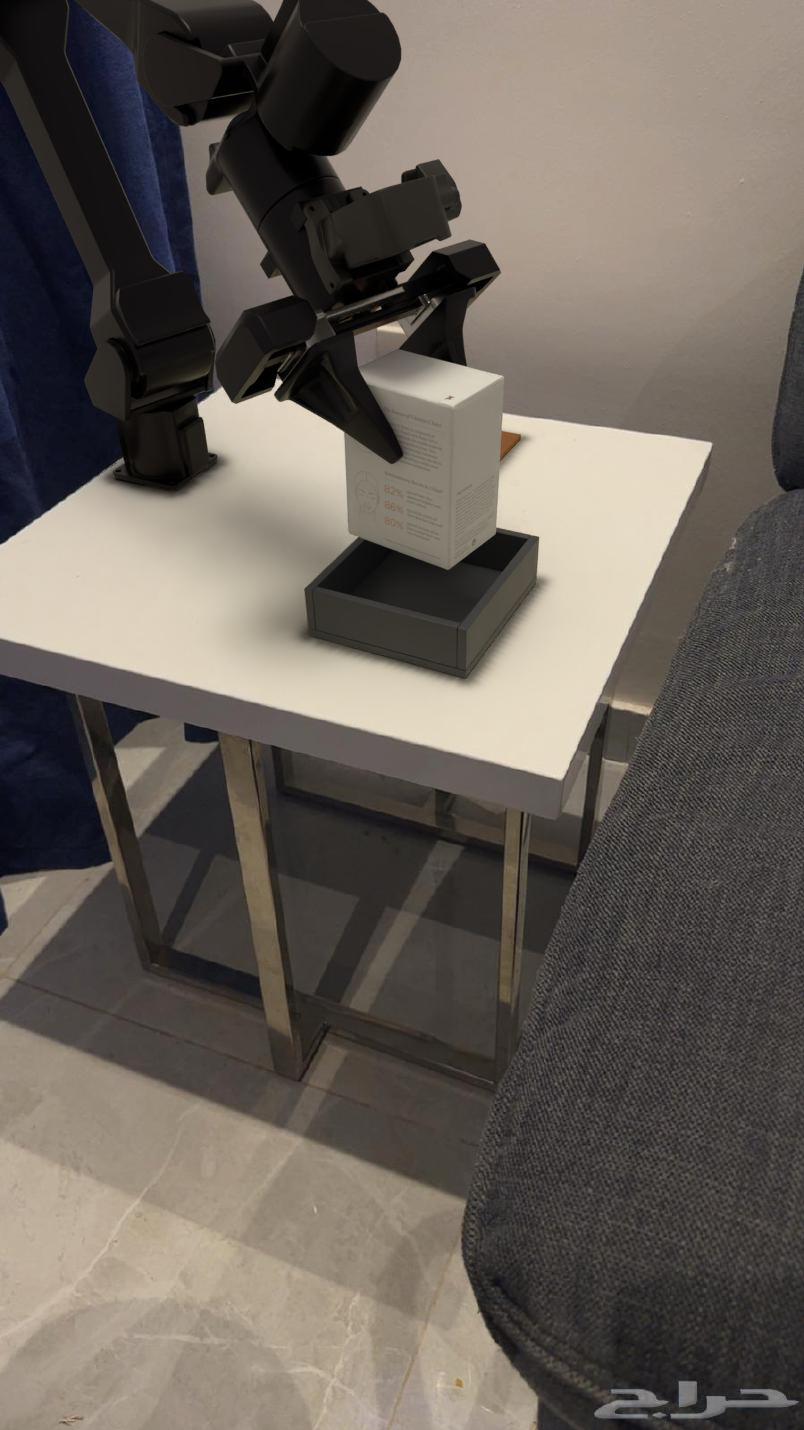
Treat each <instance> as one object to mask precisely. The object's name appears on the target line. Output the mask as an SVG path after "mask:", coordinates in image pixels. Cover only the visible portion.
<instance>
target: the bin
mask: <svg viewBox="0 0 804 1430" xmlns="http://www.w3.org/2000/svg"><path fill="white" fill-rule="evenodd" d="M539 548H540V536H537V535H533V534H529V533H524V532H519V531H515V530H510V529H506V528H501V527H497V526H496V534H495V535H494V536H492V537H491V538H490V539H489V540H487V541H486V542H485V543H483V544H482V545H481V546H479V547H478V548H477V549H475V550H474V551H473V552H471V553H470V554H469V555H468V556H466V557H465V558H464V559H462V560H461V561H460V562H458V563H457V564H456V565H454V566H453V567H452V568H450V569H449V570H447V569H444V568H442V567H439V566H436V565H433V564H431V563H428V562H425V561H422V560H420V559H417V558H414V557H411V556H409V555H406V554H403V553H401V552H398V551H395V550H393V549H390V548H387V547H384V546H382V545H379V544H376V543H374V542H371V541H368V540H365V539H363V538H360V537H356V538H355V539H354V540H353V541H352V542H351V543H350V544H349V545H348V546H347V547H346V548H345V549H344V550H343V551H342V552H341V553H340V554H339V555H338V556H337V557H336V558H335V559H333V561H331V562H330V563H329V564H328V565H327V566H326V567H325V568H324V569H323V570H322V571H321V572H320V573H319V574H318V575H316V577H315V578H314V579H312V581H310V583H308V585H307V586H305V587H304V588H303V590H304V600H305V611H306V621H307V628H308V635H309V636H310V637H314V638H318V639H322V640H325V641H328V642H332V643H336V644H338V645H339V644H340V645H342V646H346V647H351V648H354V649H357V650H361V651H365V652H369V653H372V654H376V655H380V656H382V657H387V658H391V659H394V660H396V661H397V660H398V661H402V662H405V663H409V664H412V665H416V666H420V667H424V668H427V669H431V670H434V671H437V672H441V673H445V674H448V675H452V676H456V677H460V678H464V679H467V677H468V675H469V674H470V673H471V671H472V670H473V669H474V668H475V666H476V665H477V663H478V662H479V661H480V659H481V658H482V657H483V655H484V654H485V652H486V651H487V650H488V648H489V647H490V646H491V645H492V643H493V642H494V641H495V639H496V637H498V635H499V633H500V632H501V631H502V629H503V628H504V627H505V625H506V624H507V623H508V621H509V620H510V619H511V617H512V616H513V614H514V613H515V612H516V610H517V609H518V608H519V606H520V605H521V604H522V602H523V601H524V600H525V598H526V597H527V595H529V593H530V591H531V590H532V589H533V587H534V586H535V585H536V583H537V582H538V581H537V579H538V565H539V551H540V549H539Z"/></svg>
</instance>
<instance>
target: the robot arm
mask: <svg viewBox="0 0 804 1430" xmlns="http://www.w3.org/2000/svg"><path fill="white" fill-rule="evenodd" d="M73 1H74V2H75V3H76V4H77V5H78V6H79V7H80V8H81V9H83V10H84V11H85V12H87V14H88V15H90V16H91V17H92V18H93V19H94V20H96V21H97V22H98V23H99V24H100V25H101V26H103V27H104V28H105V29H106V30H107V31H109V32H110V33H111V34H112V35H113V36H115V37H116V38H117V39H118V40H119V41H121V43H123V44H124V46H125V47H126V48H127V49H128V50H129V52H131V54H132V56H133V57H132V58H133V65H134V73H135V80H136V81H137V82H138V84H139V85H140V86H141V87H142V88H143V90H144V91H145V92H146V93H147V94H148V95H149V97H150V98H151V99H152V100H153V102H154V103H155V104H156V105H157V106H158V107H159V109H160V110H161V111H162V112H163V113H164V115H165V116H166V117H167V118H168V119H169V120H170V121H171V122H172V123H174V124H175V125H178V126H179V127H185V128H189V127H194V126H198V125H203V124H209V123H215V122H219V121H224V120H230V119H231V120H230V121H229V123H228V125H227V126H226V129H225V131H224V133H223V135H222V137H221V139H220V140H219V141H216V142H212V143H209V146H208V154H209V157H208V159H209V160H208V166H207V169H206V172H205V189H206V192H207V193H208V195H210V196H216V195H221V194H226V193H228V192H233V194H234V196H235V197H236V199H237V201H238V202H239V204H240V206H241V208H242V209H243V211H244V213H245V214H246V217H247V218H248V220H249V221H250V223H251V225H252V226H253V228H254V230H255V231H256V233H257V235H258V237H259V239H260V240H261V242H262V244H263V245H264V247H265V249H266V251H267V252H265V255H264V256H263V258H262V260H261V261H260V263H259V266H260V267H261V269H262V271H263V273H264V274H265V276H266V277H267V280H270V279H274V278H277V277H279V276H282V278H283V280H284V281H285V284H286V285H287V286H288V288H289V291H290V292H291V293H292V294H291V295H288V296H285V297H281V298H278V299H275V300H272V301H269V302H266V303H263V304H260V305H256V306H253V307H249V308H246V309H244V310H242V312H241V314H240V315H239V316H238V319H237V320H236V321H235V323H234V325H233V326H232V328H231V330H230V332H229V333H228V335H227V336H226V338H225V340H224V341H223V343H222V344H221V345H220V348H219V349H218V351H216V349H217V345H216V344H217V343H216V342H217V340H216V337H215V334H214V331H213V329H212V326H211V325H210V324H211V323H212V321H211V319H210V317H209V316H208V314H207V313H206V311H205V310H204V308H203V306H202V304H201V301H200V299H199V296H198V294H197V291H196V288H195V285H194V282H193V279H191V277H190V276H189V275H188V274H187V272H186V271H184V270H180V271H175V272H172V273H171V272H170V271H169V270H168V269H167V268H166V267H164V265H162V264H161V263H159V261H157V260H156V259H155V258H154V256H153V254H152V252H151V250H150V247H149V245H148V243H147V241H146V238H145V236H144V233H143V231H142V229H141V227H140V225H139V222H138V220H137V218H136V215H135V213H134V210H133V209H132V208H133V207H132V206H131V203H130V202H129V199H128V196H127V194H126V192H125V190H124V187H123V185H122V183H121V180H120V179H119V176H118V173H117V171H116V169H115V166H114V164H113V162H112V160H111V157H110V155H109V152H108V150H107V147H106V146H105V143H104V141H103V139H102V136H101V133H100V132H99V129H98V127H97V124H96V123H95V120H94V117H93V114H92V113H91V111H90V109H89V106H88V104H87V102H86V100H85V97H84V95H83V92H82V90H81V88H80V85H79V83H78V81H77V78H76V76H75V73H74V71H73V69H72V67H71V64H70V62H69V60H68V57H67V54H66V53H67V52H66V49H67V40H68V39H67V38H68V28H69V18H70V16H69V15H70V5H69V3H68V2H69V1H68V0H0V83H1V85H2V86H3V87H4V89H5V92H6V94H7V96H8V98H9V100H10V103H11V104H12V107H13V109H14V111H15V113H16V115H17V118H18V120H19V122H20V125H21V127H22V129H23V132H25V135H26V138H27V140H28V143H29V145H30V147H31V149H32V151H33V153H34V156H35V158H36V160H37V163H38V165H39V167H40V169H41V172H42V174H43V176H44V178H45V180H46V182H47V185H48V186H49V189H50V192H51V193H52V196H53V198H54V200H55V202H56V204H57V207H58V209H59V211H60V213H61V216H62V218H63V220H64V222H65V224H66V227H67V229H68V230H69V234H70V236H71V238H72V240H73V242H74V245H75V247H76V249H77V252H78V254H79V255H80V259H81V261H82V262H83V265H84V267H85V270H86V271H87V274H88V275H89V278H90V280H91V283H92V286H93V291H92V300H91V312H90V321H89V329H90V332H91V335H92V338H93V340H94V344H95V346H96V348H97V349H96V351H95V354H94V356H93V358H92V360H91V363H90V364H89V367H88V369H87V372H86V374H85V376H84V378H83V380H84V385H85V388H86V390H87V392H88V395H89V398H90V400H91V403H92V405H93V407H94V408H96V409H98V410H100V411H102V412H104V413H106V414H108V415H110V416H112V417H114V420H115V421H114V422H115V426H116V431H117V435H118V436H117V437H118V440H119V444H120V445H119V446H120V449H121V454H122V458H123V463H122V464H121V465H119V466H118V467H115V469H113V470H112V476H113V478H115V479H117V480H122V481H126V482H131V483H135V484H136V483H137V484H140V485H144V486H149V487H153V488H157V489H163V490H166V491H177V490H179V489H180V488H182V487H183V486H185V485H186V484H187V483H189V482H191V481H192V480H194V479H195V478H196V477H197V476H199V475H200V474H202V473H203V472H205V471H206V470H207V469H209V468H210V467H211V466H213V465H214V464H215V463H217V462H218V461H219V457H218V454H217V453H214V452H209V447H208V441H207V434H206V428H205V424H204V423H205V421H204V418H203V417H202V416H200V412H199V407H198V401H197V400H198V399H197V395H199V394H202V393H208V392H210V391H213V385H214V373H216V379H217V380H218V382H219V383H220V385H221V388H222V389H223V390H224V392H225V394H226V396H227V397H228V399H229V401H230V402H231V403H232V404H235V405H237V404H240V403H243V402H245V401H248V400H251V399H253V398H256V397H259V396H261V395H264V394H267V393H270V392H272V390H273V389H274V388H275V386H276V382H277V377H278V378H279V379H280V381H281V382H282V383H280V385H279V386H278V388H277V389H276V390H275V391H274V393H273V396H274V398H275V399H276V401H277V402H279V403H282V402H285V401H291V402H293V403H294V404H296V405H297V406H300V407H302V408H303V409H305V410H306V411H309V412H310V413H312V414H314V415H316V416H317V417H320V419H323V420H325V422H328V423H329V424H331V425H333V426H334V427H336V428H337V429H339V430H340V431H342V432H343V433H344V432H345V433H346V434H348V435H349V436H351V437H352V438H353V439H355V440H356V441H358V442H359V443H361V444H362V445H364V446H365V447H366V448H368V449H369V450H371V451H372V452H374V453H375V454H377V455H378V456H379V457H381V458H382V459H384V460H385V461H387V462H388V463H390V464H394V463H397V462H398V461H399V460H400V459H401V458H402V457H403V451H402V449H401V447H400V444H399V442H398V440H397V438H396V435H395V433H394V431H393V429H392V427H391V425H390V424H389V422H388V420H387V418H386V417H385V415H384V413H383V411H382V410H381V408H380V406H379V404H378V402H377V401H376V399H375V397H374V395H373V394H372V392H371V390H370V388H369V387H368V385H367V383H366V381H365V379H364V378H363V376H362V374H361V372H360V370H359V368H358V367H359V364H358V356H357V349H356V341H355V340H356V339H355V336H359V335H361V334H364V333H366V332H369V331H370V332H371V331H372V330H373V331H374V330H375V329H377V328H380V327H384V326H387V325H390V324H392V323H395V322H397V323H398V324H399V326H400V328H401V330H402V331H403V333H404V335H405V336H406V338H407V339H406V340H404V342H403V343H402V344H401V345H400V346H399V347H398V349H399V350H403V351H407V352H411V353H415V354H419V355H423V356H427V357H430V358H434V359H439V360H442V361H446V362H450V363H454V364H458V365H462V366H466V367H468V361H467V358H466V351H465V341H464V323H465V320H466V315H467V310H468V309H469V308H470V307H471V306H472V304H473V303H474V302H475V301H476V300H477V299H478V298H479V297H480V296H481V295H482V294H483V293H484V292H485V291H486V290H487V288H489V286H490V285H491V284H492V283H494V282H495V280H496V279H497V278H498V277H499V276H500V275H501V274H502V271H501V268H500V267H499V265H498V263H497V262H496V260H495V258H494V256H493V254H492V253H491V251H490V249H489V248H488V246H487V243H485V242H481V241H477V240H475V239H466V240H463V241H461V242H457V243H454V244H450V245H447V246H444V247H441V248H438V249H435V250H432V251H431V252H430V253H429V254H428V256H427V257H426V258H425V259H424V260H423V261H422V262H421V264H420V265H419V266H418V267H417V269H416V270H415V271H414V272H413V273H412V275H411V276H410V277H409V278H408V280H407V281H404V282H400V283H399V282H398V280H397V277H398V276H399V274H401V273H404V272H406V271H407V270H408V269H409V268H410V266H411V265H412V263H413V262H414V261H415V257H414V256H413V254H412V252H411V250H414V249H416V248H418V247H421V246H423V245H426V244H428V243H430V242H433V241H435V240H437V241H438V242H442V241H445V240H447V239H450V238H451V237H452V231H451V228H450V224H449V222H451V221H454V220H455V219H458V218H459V217H460V215H461V212H462V208H463V204H462V200H461V194H460V191H459V189H458V186H457V183H456V182H455V179H454V178H453V177H452V175H451V174H450V173H449V171H448V169H447V168H446V167H445V166H444V164H443V162H442V161H441V160H440V158H437V159H433V160H429V161H425V162H421V163H418V164H417V165H415V168H412V169H408V170H405V171H403V172H402V173H401V176H400V183H396V184H392V185H389V186H385V187H382V188H380V189H377V190H374V191H372V192H369V191H368V190H367V189H366V188H363V186H361V185H360V186H356V187H353V188H350V189H349V188H348V189H346V187H345V185H344V184H343V182H342V181H341V179H340V176H338V173H337V172H336V170H335V168H334V166H333V165H332V163H331V161H330V159H329V158H328V157H334V156H338V155H340V154H342V153H343V152H346V150H347V149H348V148H349V147H350V145H351V144H352V142H353V141H354V139H355V138H356V137H357V136H358V133H359V132H360V130H361V129H362V126H363V125H364V124H365V123H366V120H367V119H368V118H369V116H370V115H371V113H372V111H373V109H374V108H375V106H376V105H377V103H378V101H379V100H380V98H381V97H382V96H383V93H384V92H385V90H386V89H387V88H388V86H389V84H390V82H391V81H392V79H393V78H394V76H395V75H396V73H397V71H398V70H399V67H400V65H401V61H402V45H401V41H400V37H399V35H398V32H397V30H396V28H395V26H394V23H393V22H392V20H391V19H390V17H389V16H388V15H387V14H386V13H385V12H382V11H380V10H379V9H378V8H377V6H376V5H374V4H373V3H372V2H371V1H369V0H282V1H281V5H280V7H279V9H278V11H277V13H276V15H275V18H274V19H273V18H272V16H271V15H270V13H269V12H268V11H267V10H266V9H265V8H264V6H263V5H261V4H260V3H258V1H255V0H73ZM379 308H380V309H379Z"/></svg>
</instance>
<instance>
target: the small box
mask: <svg viewBox="0 0 804 1430" xmlns="http://www.w3.org/2000/svg"><path fill="white" fill-rule="evenodd" d="M358 368H359V370H360V372H361V374H362V376H363V378H364V379H365V381H366V383H367V385H368V387H369V388H370V390H371V392H372V394H373V395H374V397H375V399H376V401H377V402H378V404H379V406H380V408H381V410H382V411H383V413H384V415H385V417H386V418H387V420H388V422H389V424H390V425H391V427H392V429H393V431H394V433H395V435H396V438H397V440H398V442H399V444H400V447H401V449H402V451H403V457H402V458H401V459H400V460H399V461H398V462H397V463H394V464H390V463H388V462H387V461H385V460H384V459H382V458H381V457H379V456H378V455H377V454H375V453H374V452H372V451H371V450H369V449H368V448H366V447H365V446H364V445H362V444H361V443H359V442H358V441H356V440H355V439H353V438H352V437H351V436H349V435H348V434H346V433H345V432H343V440H344V459H345V460H344V463H345V484H346V485H345V486H346V507H347V508H346V509H347V510H346V511H347V532H348V533H349V534H350V535H352V536H354V537H356V538H358V537H360V538H363V539H365V540H368V541H371V542H374V543H376V544H379V545H382V546H384V547H387V548H390V549H393V550H395V551H398V552H401V553H403V554H406V555H409V556H411V557H414V558H417V559H420V560H422V561H425V562H428V563H431V564H433V565H436V566H439V567H442V568H444V569H447V570H449V569H450V568H452V567H453V566H454V565H456V564H457V563H458V562H460V561H461V560H462V559H464V558H465V557H466V556H468V555H469V554H470V553H471V552H473V551H474V550H475V549H477V548H478V547H479V546H481V545H482V544H483V543H485V542H486V541H487V540H489V539H490V538H491V537H492V536H494V535H495V534H496V527H497V523H498V522H497V521H498V520H497V519H498V503H499V487H500V469H501V460H500V451H501V433H502V431H503V430H502V429H503V428H502V427H503V416H504V415H503V414H504V396H505V395H504V392H505V376H504V375H501V374H497V373H493V372H488V371H485V370H481V369H476V368H473V367H469V366H467V367H466V366H462V365H458V364H454V363H450V362H446V361H442V360H439V359H434V358H430V357H427V356H423V355H419V354H415V353H411V352H407V351H403V350H399V348H398V349H395V350H393V351H389V352H388V353H386V354H384V355H381V356H379V357H377V358H375V359H373V360H371V361H369V362H367V363H365V364H362V365H361V366H358Z"/></svg>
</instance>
